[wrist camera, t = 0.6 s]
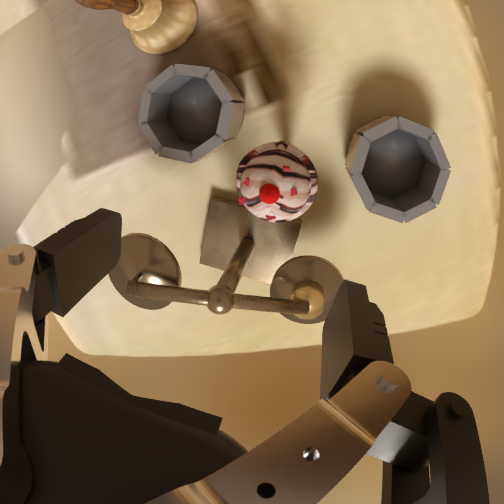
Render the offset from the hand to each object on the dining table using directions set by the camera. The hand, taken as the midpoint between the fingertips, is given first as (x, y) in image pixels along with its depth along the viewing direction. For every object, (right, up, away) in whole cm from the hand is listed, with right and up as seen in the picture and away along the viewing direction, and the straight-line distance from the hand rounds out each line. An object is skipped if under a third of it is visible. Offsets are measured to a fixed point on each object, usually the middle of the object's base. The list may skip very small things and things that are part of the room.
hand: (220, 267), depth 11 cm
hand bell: (-9, +26, +17) cm, 32 cm away
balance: (+1, +2, +26) cm, 26 cm away
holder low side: (+15, +10, +19) cm, 26 cm away
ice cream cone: (+5, +10, +21) cm, 24 cm away
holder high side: (-4, +15, +20) cm, 26 cm away
